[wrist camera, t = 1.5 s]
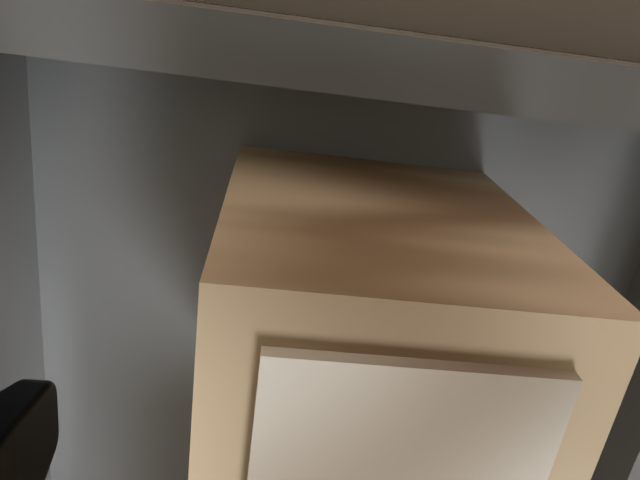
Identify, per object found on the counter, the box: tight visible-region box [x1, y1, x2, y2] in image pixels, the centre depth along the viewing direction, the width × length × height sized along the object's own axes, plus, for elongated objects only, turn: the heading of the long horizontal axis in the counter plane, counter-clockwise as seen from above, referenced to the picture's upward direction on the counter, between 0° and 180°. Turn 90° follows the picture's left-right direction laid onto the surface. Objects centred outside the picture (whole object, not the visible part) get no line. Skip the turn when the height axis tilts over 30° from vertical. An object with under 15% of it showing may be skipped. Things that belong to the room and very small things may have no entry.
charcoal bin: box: [0, 0, 640, 480], centre depth 14 cm, size 15×19×2 cm
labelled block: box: [188, 145, 640, 480], centre depth 10 cm, size 5×5×6 cm
